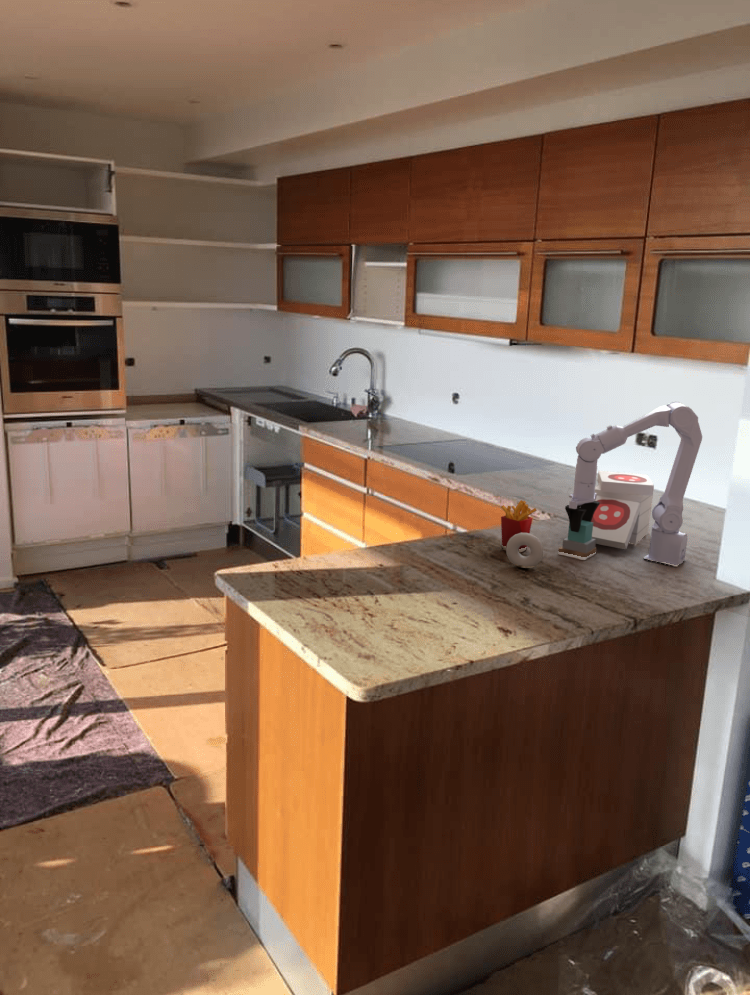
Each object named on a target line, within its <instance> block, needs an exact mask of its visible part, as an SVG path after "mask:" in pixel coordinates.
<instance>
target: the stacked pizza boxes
mask: <svg viewBox="0 0 750 995" xmlns="http://www.w3.org/2000/svg"><path fill="white" fill-rule="evenodd" d="M597 472H598V473H597V479H596V481H597V483H598V484H597V485H595V493H597V496H596V500H594V501H598V502H600V504H599V506H598V507H597V509H596V511H595V512H594V515H593V518H592V520H591V522H593V530H592V538H593V539H596V544H595V545H601V546H607V547H611V548H615V549H616V548H617V549H620V550H627V548H628V546H629V544H628V543H629V542H630V543H634V544H636V543H637V542H638V541H639V542H640V541H642V540H643V539H644V538H643V537H644V536H645V535H646V536H647V535H648V534H649V528H650V521H651V515H652V504H653V497H654V488H655V485H654V483H653V481H652V480H651V478H650V476H649V475H648V474H646V473H645V474H644V473H633V472H620V471H608V470H607V471H605V470H597ZM646 536H645V537H646ZM642 538H643V539H642ZM639 542H638V543H639ZM638 543H637V544H638ZM637 544H636V545H637Z"/></svg>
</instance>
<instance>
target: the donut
mask: <svg viewBox="0 0 750 995" xmlns="http://www.w3.org/2000/svg"><path fill="white" fill-rule="evenodd" d="M522 545H526V546H527V547H528V548H529V549H530V550H529V551H530V553H529V555H526V556H525V555H522V554H521V553H519V547H520V546H522ZM505 552H506V555H507V559H508V560H509V561H510V563H511V562H512V563H514V564H518V565H523V566H535V567H536V566H537V565H539V564H540V563H541V561H542V560H543V556H544V546H543V544H542V542H541V540H540V539H539V538H538V537H537V536H535V535H534V534H532V533H518V534H515V535H514V536H513V537H511V538H510V540H509V541H508V543H507V547H506V551H505ZM512 563H511V564H512Z"/></svg>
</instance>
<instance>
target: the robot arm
mask: <svg viewBox="0 0 750 995" xmlns="http://www.w3.org/2000/svg"><path fill="white" fill-rule="evenodd" d="M655 426H656V427H666V428H670V427H672V428H673V429H674V430H675V433H677V435H678V436H679V438H680V442H679V445H678V448H677V451H676V455H675V458H674V460H673V461H674V462H673V465H672V468H671V470H670V473H669V477H668V480H667V484H666V487H665V490H664V493H662V495H661V496H660V497H659V500H658V502H657V503H656V505H655V506H654V507H653V509H652V510H651V516H652V518H653V520H654V523H653V524H652V526H651V533H650V535H651V536H650V542H649V548H648V554H647V555H645V556H644V557H643V558H644V559H646V558H647V559H649V560H653V561H658V562H666V563H670V564H674V565H678V564H680V563H681V564H683V563H684V562H685V561H686V554H687V553H686V552H687V546H688V534H687V533H685V532H682V531H680V529H681V527H682V526H683V524H684V523H683V522H684V521H683V519H684V518H683V512H684V502H683V501H684V500H683V499H684V497H685V493H686V491H687V487H688V484H689V482H690V478H691V475H692V473H693V470H694V465H695V462H696V459H697V456H698V453H699V450H700V447H701V444H702V441H703V435H702V434H703V433H702V430H701V427H700V423H699V417H698V415H697V414H696V413H695V411H694V410H693V409H692V408H691V407H689V406H686V405H684V404H683V403H682V402H680V401H671V402H669V403H667V404H666V405H665V404H664V405H660V406H659V407H656V408H655V409H652V410H651V411H649V412H648V413H646V414H643V415H642V416H639V417H637V418H636V419H635V420H633V421H630V422H629V423H627V424H624V425H623V426H620V425H617V424H614V425H611V424H610V425H608V426H606V429H605V430H602V431H600V432H598V433H596V434H595V433H592V434H591V435H590V437H584V438H582V439H580V440H579V441H578V443H577V446H575V450H576V453H577V458H576V465H575V474H574V483H573V484H574V485H573V491H572V492H573V493H571V494H568V495H569V496H568V498H570V499H571V500H569V504H567V505H565V506H564V509H565V512H566V514H567V518H568V521H569V522H570V529H571V531H573V532H579V529H580V526H581V521H582V520H584V521H588V522H591V520H592V518H593V515H594V512H595V511H596V509H597V507H598V506H599V504H600V502H598V501H594V500H596V496H597V493H595V486H596V483H597V482H596V481H597V476H598V473H597V472H598V460H599V459H600V457H601V455H602V454H606V453H608V452H611V451H612V450H615V449H617V448H619V447H621V446H623V445H625V444H626V442H627V440H628V438H629V437H633V436H635V435H637V434H639V433H642V432H644V431H646V430H649V429H650V428H653V427H655ZM644 559H643V560H644ZM684 560H685V561H684ZM683 561H684V562H683ZM681 564H680V565H681Z"/></svg>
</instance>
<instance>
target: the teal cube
mask: <svg viewBox="0 0 750 995" xmlns="http://www.w3.org/2000/svg"><path fill="white" fill-rule="evenodd" d="M592 530H593V522H588V521H584V520H582V521H581V526H580V529H579V532H573V531H571V529H570V522H569V523H568V533H567V537H568V540H572V541H576V542H581V543H586V542H588V541H590V540H591V539H592Z"/></svg>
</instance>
